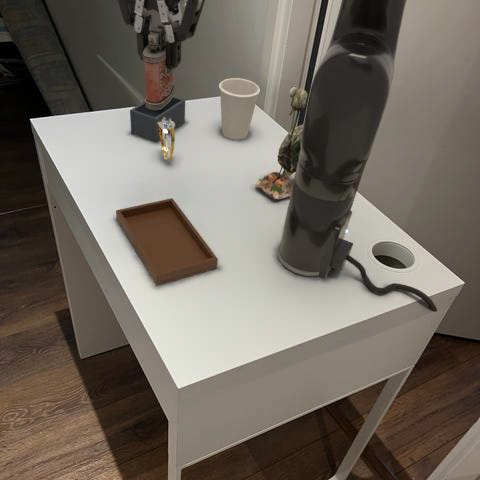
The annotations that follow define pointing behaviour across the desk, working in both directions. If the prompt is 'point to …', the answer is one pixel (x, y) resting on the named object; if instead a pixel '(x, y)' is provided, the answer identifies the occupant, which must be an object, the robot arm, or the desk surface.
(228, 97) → the dixie cup
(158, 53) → the lighter
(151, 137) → the box
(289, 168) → the plant with pod
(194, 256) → the tray
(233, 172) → the desk surface
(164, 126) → the ring
